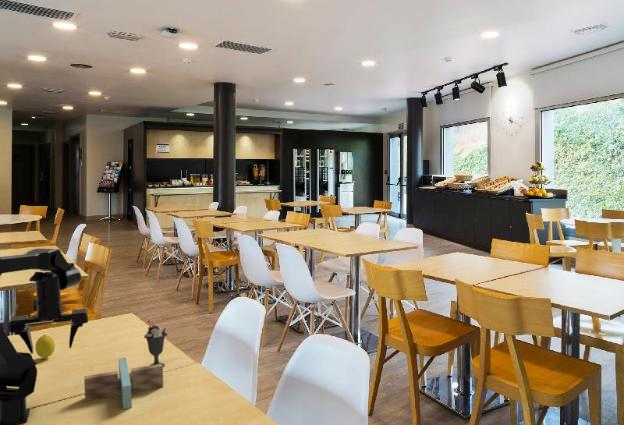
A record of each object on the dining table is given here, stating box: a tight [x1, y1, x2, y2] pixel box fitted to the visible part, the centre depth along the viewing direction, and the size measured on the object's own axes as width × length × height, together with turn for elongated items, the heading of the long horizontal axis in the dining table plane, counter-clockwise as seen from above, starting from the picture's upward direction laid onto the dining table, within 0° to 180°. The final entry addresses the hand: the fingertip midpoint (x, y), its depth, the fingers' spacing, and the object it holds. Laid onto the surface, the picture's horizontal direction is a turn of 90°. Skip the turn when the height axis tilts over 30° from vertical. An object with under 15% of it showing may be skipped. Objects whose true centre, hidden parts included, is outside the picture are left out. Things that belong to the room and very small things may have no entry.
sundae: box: [143, 320, 168, 368], centre depth 149 cm, size 7×7×15 cm
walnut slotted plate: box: [83, 364, 164, 402], centre depth 133 cm, size 20×2×6 cm, turn 114°
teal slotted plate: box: [118, 357, 133, 410], centre depth 133 cm, size 20×2×6 cm, turn 25°
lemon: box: [35, 334, 56, 360], centre depth 156 cm, size 6×6×8 cm
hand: (51, 350), depth 132 cm, fingers open, 9 cm apart
